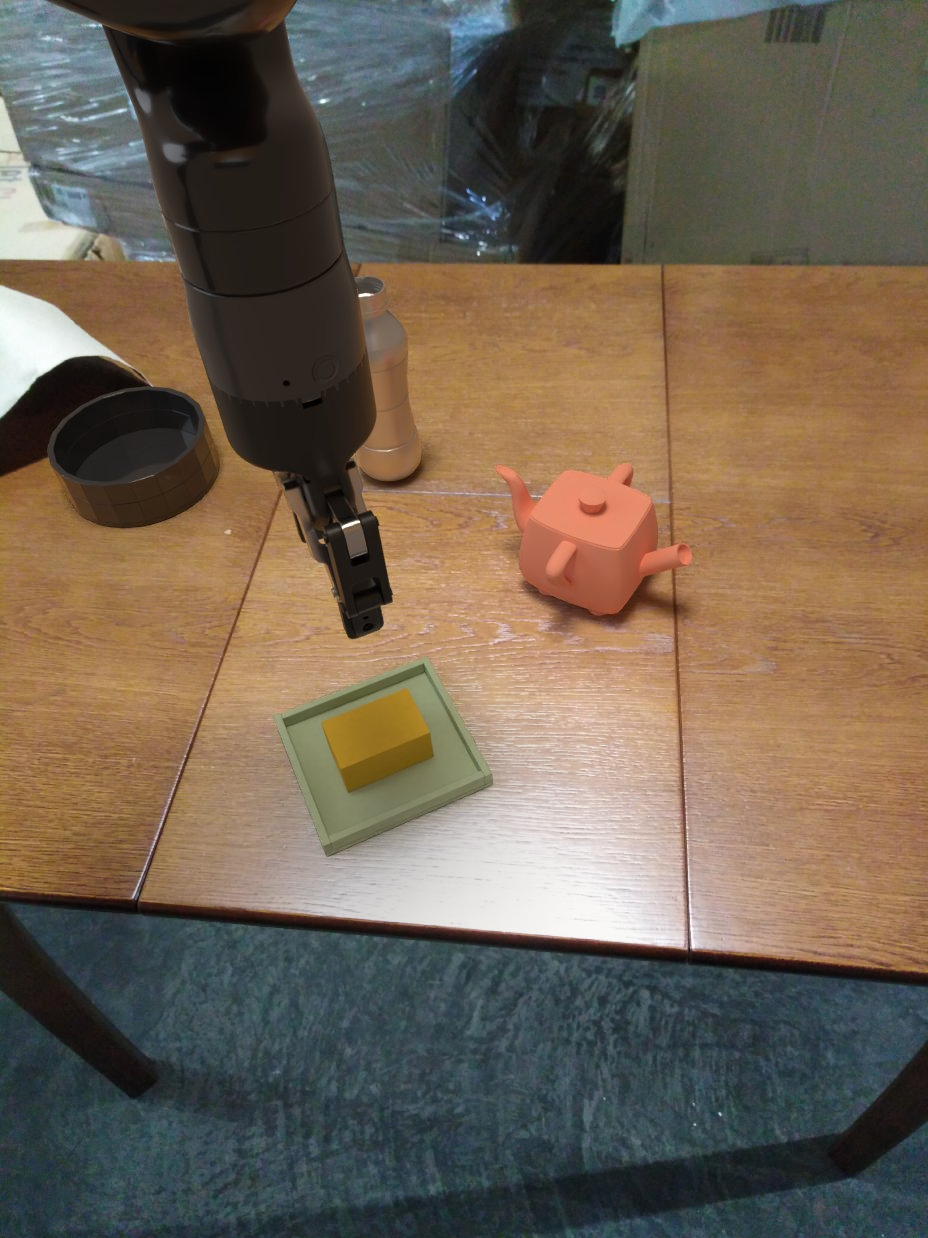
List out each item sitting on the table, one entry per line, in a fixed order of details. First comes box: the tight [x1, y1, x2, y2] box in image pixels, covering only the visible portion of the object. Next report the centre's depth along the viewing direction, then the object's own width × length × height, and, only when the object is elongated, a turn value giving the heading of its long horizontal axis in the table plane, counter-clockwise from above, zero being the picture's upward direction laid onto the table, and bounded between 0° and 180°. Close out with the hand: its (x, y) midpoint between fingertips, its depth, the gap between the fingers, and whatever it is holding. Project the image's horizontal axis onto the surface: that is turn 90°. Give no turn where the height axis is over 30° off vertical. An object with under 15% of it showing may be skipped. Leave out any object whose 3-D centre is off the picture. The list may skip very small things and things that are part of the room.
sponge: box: [321, 688, 434, 793], centre depth 67 cm, size 7×4×4 cm, turn 115°
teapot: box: [494, 462, 693, 617], centre depth 76 cm, size 14×12×10 cm
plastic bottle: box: [354, 275, 423, 482], centre depth 83 cm, size 6×7×20 cm
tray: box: [273, 655, 493, 857], centre depth 69 cm, size 13×12×2 cm
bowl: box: [46, 385, 220, 528], centre depth 90 cm, size 15×15×6 cm
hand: (340, 581), depth 54 cm, fingers open, 8 cm apart
